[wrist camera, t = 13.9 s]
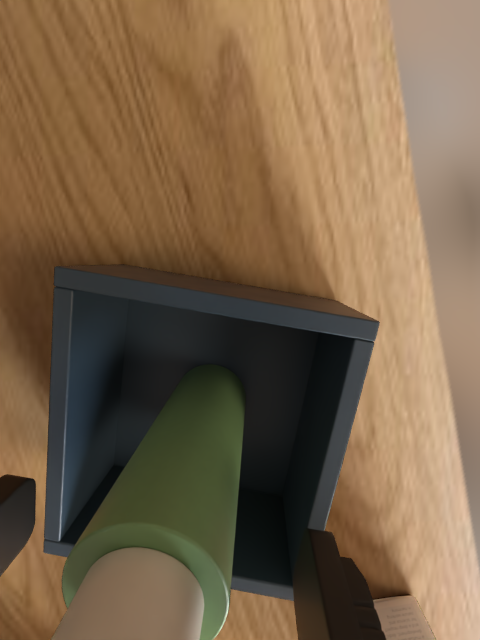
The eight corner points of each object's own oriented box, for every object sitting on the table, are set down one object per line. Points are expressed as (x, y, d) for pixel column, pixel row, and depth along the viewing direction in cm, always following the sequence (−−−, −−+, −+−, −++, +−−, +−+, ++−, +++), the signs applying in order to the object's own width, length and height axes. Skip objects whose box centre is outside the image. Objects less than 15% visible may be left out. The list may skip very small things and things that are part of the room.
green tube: (181, 358, 18) (-2, 593, 5) (251, 370, 18) (237, 641, 5) (173, 421, 19) (-3, 758, 6) (239, 434, 18) (203, 801, 6)
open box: (123, 264, 17) (53, 265, 11) (337, 300, 17) (381, 321, 11) (106, 466, 20) (42, 553, 14) (290, 501, 20) (305, 604, 14)
